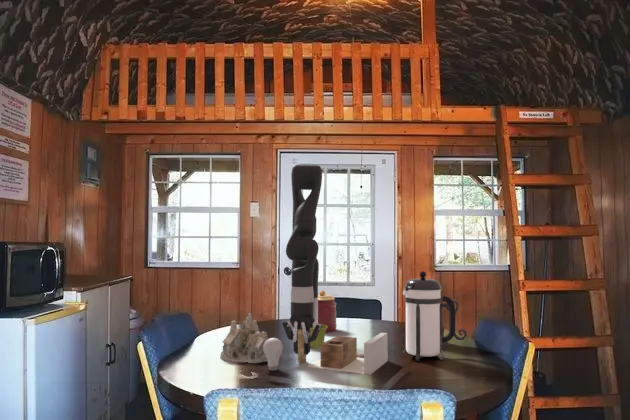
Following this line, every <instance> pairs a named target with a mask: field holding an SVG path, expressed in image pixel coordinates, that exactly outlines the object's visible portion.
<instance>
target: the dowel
mask: <svg viewBox="0 0 630 420" xmlns="http://www.w3.org/2000/svg"><path fill="white" fill-rule="evenodd" d="M304 343H305V340H304V336H303V330H298V354H297V363H298V364H305V363H307V355H304Z"/></svg>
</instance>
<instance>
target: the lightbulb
mask: <svg viewBox="0 0 630 420" xmlns="http://www.w3.org/2000/svg"><path fill="white" fill-rule="evenodd" d="M263 350H264V353H265V355H266V357H267V360H268V362H267V365H268V370H269V371H278V366H279V360H280V357H281V356H282V353H283V350H284V344H283V343H282V341H281V340H280V339H278V337H277V338H276V337H270V338H268V340H266V342H265V343H264V346H263Z"/></svg>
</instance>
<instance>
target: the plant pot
mask: <svg viewBox="0 0 630 420" xmlns="http://www.w3.org/2000/svg"><path fill="white" fill-rule="evenodd" d="M321 325H322V324H321ZM327 327H328V326H326V325H322V327H321V329H320V332H319V334H318V336H317V338H316V340H315V341H313V342H311V343H310V348H312V349H313V348H321V344H322V343H324V342H325V337H326V333H327V332H326V328H327ZM310 330H311V335H312V333H313V331H314V329H313V326H312V327H311V329H310Z"/></svg>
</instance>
